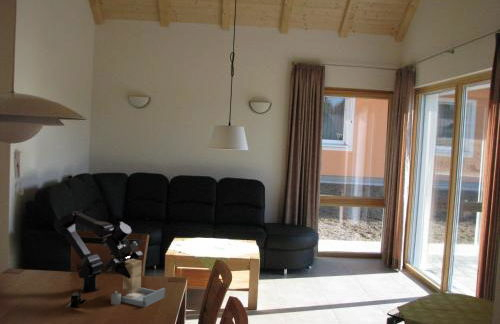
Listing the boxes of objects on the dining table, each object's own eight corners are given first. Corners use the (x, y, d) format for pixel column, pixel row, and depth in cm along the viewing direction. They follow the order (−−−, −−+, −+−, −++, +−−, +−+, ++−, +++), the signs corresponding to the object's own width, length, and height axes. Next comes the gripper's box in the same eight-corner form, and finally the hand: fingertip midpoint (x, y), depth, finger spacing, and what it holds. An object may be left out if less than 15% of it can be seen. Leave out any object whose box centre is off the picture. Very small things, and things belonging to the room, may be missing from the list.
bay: (106, 305, 190) (107, 291, 189) (135, 293, 206) (136, 279, 206) (137, 313, 183) (137, 298, 183) (164, 299, 200) (165, 285, 199)
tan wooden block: (122, 291, 197) (123, 261, 196) (131, 287, 202) (132, 258, 202) (131, 293, 195) (132, 263, 194) (140, 289, 200) (141, 260, 200)
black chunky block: (79, 310, 185) (80, 299, 185) (61, 310, 185) (61, 298, 185) (88, 299, 198) (89, 289, 197) (71, 299, 197) (71, 289, 197)
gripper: (111, 240, 191) (131, 270, 186) (140, 232, 207) (159, 260, 203) (96, 255, 194) (115, 285, 190) (126, 247, 211) (144, 274, 207)
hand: (134, 276), depth 198 cm, fingers closed on tan wooden block, 6 cm apart
